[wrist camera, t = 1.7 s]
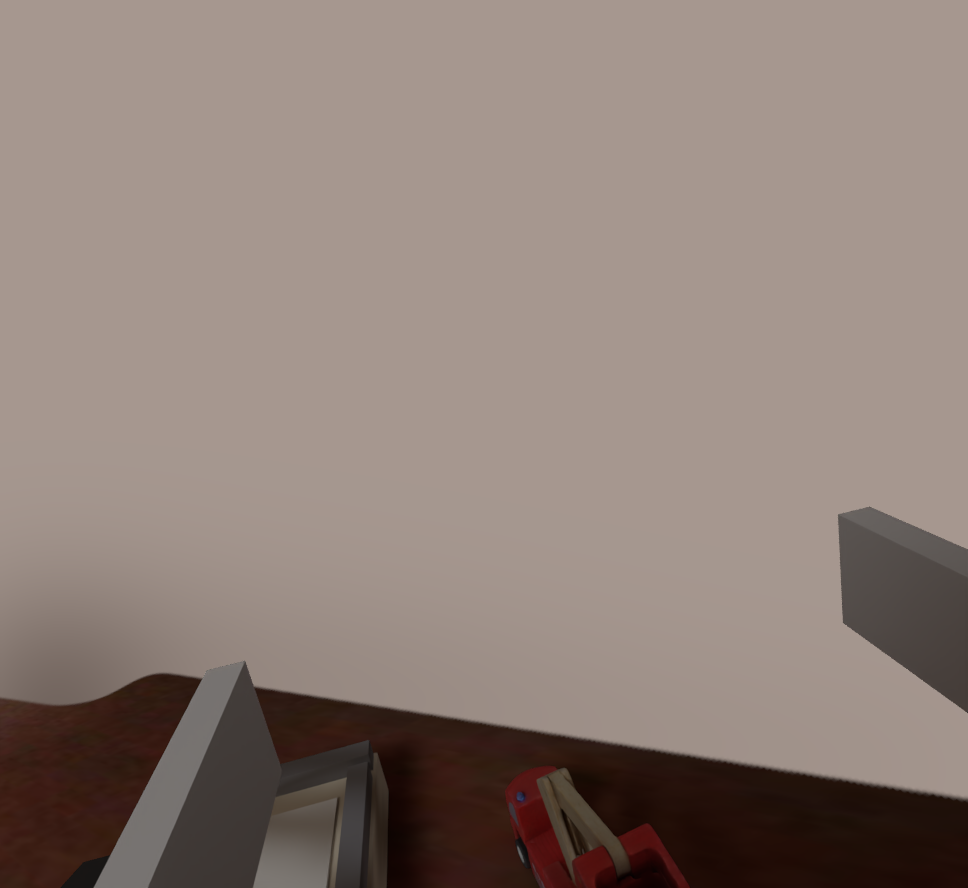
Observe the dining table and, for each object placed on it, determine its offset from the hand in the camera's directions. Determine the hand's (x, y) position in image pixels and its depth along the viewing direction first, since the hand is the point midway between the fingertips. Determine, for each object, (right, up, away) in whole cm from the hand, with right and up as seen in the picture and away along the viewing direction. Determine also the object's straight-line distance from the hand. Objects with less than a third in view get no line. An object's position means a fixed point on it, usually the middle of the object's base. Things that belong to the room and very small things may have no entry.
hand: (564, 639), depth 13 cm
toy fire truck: (+4, -19, +15) cm, 24 cm away
